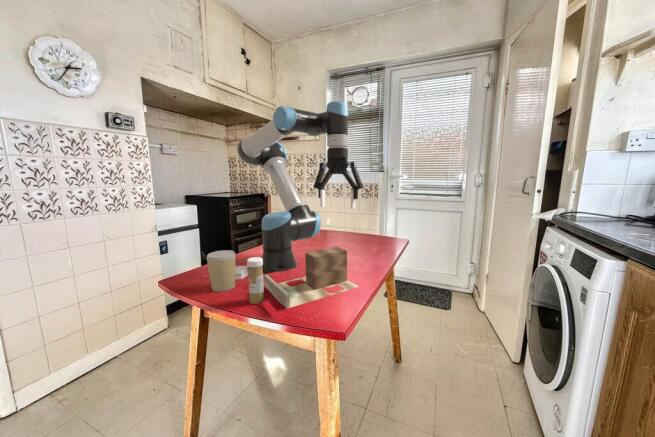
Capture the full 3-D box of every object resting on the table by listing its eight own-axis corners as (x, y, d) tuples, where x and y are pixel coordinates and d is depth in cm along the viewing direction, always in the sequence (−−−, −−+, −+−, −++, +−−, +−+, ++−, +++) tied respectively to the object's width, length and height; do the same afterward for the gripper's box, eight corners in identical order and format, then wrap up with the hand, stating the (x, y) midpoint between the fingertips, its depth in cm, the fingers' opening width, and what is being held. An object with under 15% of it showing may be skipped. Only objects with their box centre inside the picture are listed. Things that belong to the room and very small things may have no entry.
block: (337, 275, 95) (336, 246, 93) (347, 280, 90) (347, 250, 88) (306, 283, 88) (305, 252, 86) (314, 290, 83) (314, 257, 81)
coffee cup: (243, 283, 93) (241, 251, 91) (225, 294, 84) (222, 259, 82) (222, 280, 96) (220, 249, 94) (202, 290, 87) (199, 256, 85)
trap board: (329, 274, 100) (329, 260, 99) (359, 290, 85) (359, 274, 84) (264, 290, 86) (263, 275, 85) (286, 313, 71) (286, 295, 71)
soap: (237, 271, 106) (236, 264, 106) (252, 271, 105) (252, 265, 105) (225, 279, 97) (225, 272, 97) (242, 280, 97) (242, 272, 96)
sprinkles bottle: (246, 301, 79) (243, 259, 77) (259, 296, 82) (256, 255, 80) (255, 306, 76) (252, 262, 74) (267, 300, 79) (265, 258, 77)
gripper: (303, 148, 95) (305, 207, 99) (365, 144, 85) (365, 210, 88) (313, 150, 102) (314, 205, 105) (372, 147, 91) (371, 207, 95)
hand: (337, 207), depth 97 cm, fingers open, 12 cm apart
